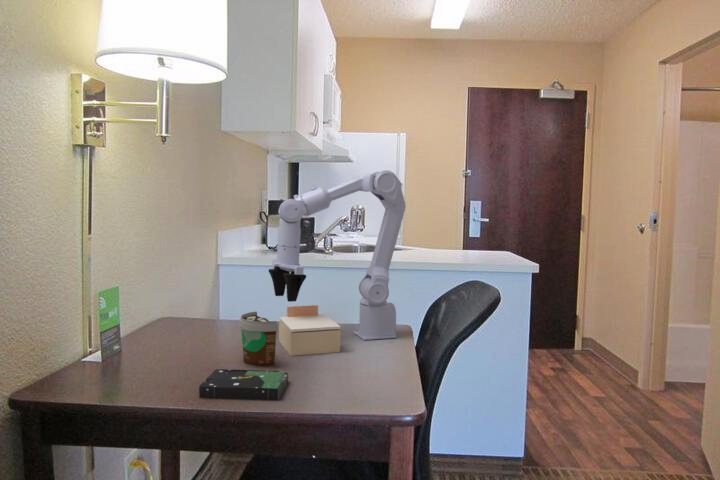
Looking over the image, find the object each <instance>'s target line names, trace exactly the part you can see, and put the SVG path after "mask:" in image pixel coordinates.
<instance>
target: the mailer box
mask: <svg viewBox="0 0 720 480" xmlns="http://www.w3.org/2000/svg"><path fill="white" fill-rule="evenodd" d="M341 330H342V329H331V330H315V331H300V332H291V331H290V330H289V329H288V328H287V327H286V326H285V325H284V324H283V323H282V322H281V321H280V319H279V320H278V342H279V343H280V344H281V345H282V347H283V348H284V349H285V350H286V352H287V353H288V354H289V355H290V356H292V357H293V356H304V355H305V356H306V355H307V356H308V355H320V354H329V353H330V354H331V353H340V352H341Z"/></svg>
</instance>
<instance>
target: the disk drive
mask: <svg viewBox="0 0 720 480" xmlns="http://www.w3.org/2000/svg"><path fill="white" fill-rule="evenodd" d="M288 383H289V374H288V371H279V370H259V369H258V370H257V369H256V370H255V369H226V368H218V369H217V368H216V369H214V370H213V372H211V373H210V374H209V376H207V377H206V380H205V381H202V383H201V384H200V385H199V386H198V393H199V394H198V398H201V399H202V398H203V399H205V398H206V399H229V400H230V399H233V400H234V399H235V400H259V401H260V400H261V401H280V399H281V397H282V395H283V394H284V390H285V389H286V387H287V385H288Z"/></svg>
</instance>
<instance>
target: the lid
mask: <svg viewBox="0 0 720 480" xmlns="http://www.w3.org/2000/svg"><path fill="white" fill-rule="evenodd" d="M278 319H279V320H280V321H281V322H282V323H283V324H284V325H285V326H286V327H287V328H288V329H289V330H290V331H291V332H300V331H315V330H331V329H340V330H342V329H341V328H342V327H341V326H342V325H339V324H338V323H336V322H335V321H334V320H333V319H331V318H330V317H329V316H328V315H326V314H323V313H322V314H319V305H317V304H316V305H315V304H314V305H313V304H311V305H296V306H295V305H294V306H286V316H278Z"/></svg>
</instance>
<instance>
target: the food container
mask: <svg viewBox="0 0 720 480" xmlns="http://www.w3.org/2000/svg"><path fill="white" fill-rule="evenodd" d="M277 322H278V321H277V320H273V321H270V320H269V319H267V318H265V317H261V316H259V315H258V311H256V310H255V311H251V312H250V311H249V312H246V313H244V314H241V316H240V318H239V321H238V325H237V326H238V328H239V329H240V330H241V340H242V341H241V342H242V343H241V344H242V354H243V363H244V364H247V365H248V366H253V367H270V366H272V367H273V366H275V361H276V359H275V358H276V346H277V343H276V341H277V332H279V328H278V323H277Z"/></svg>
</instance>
